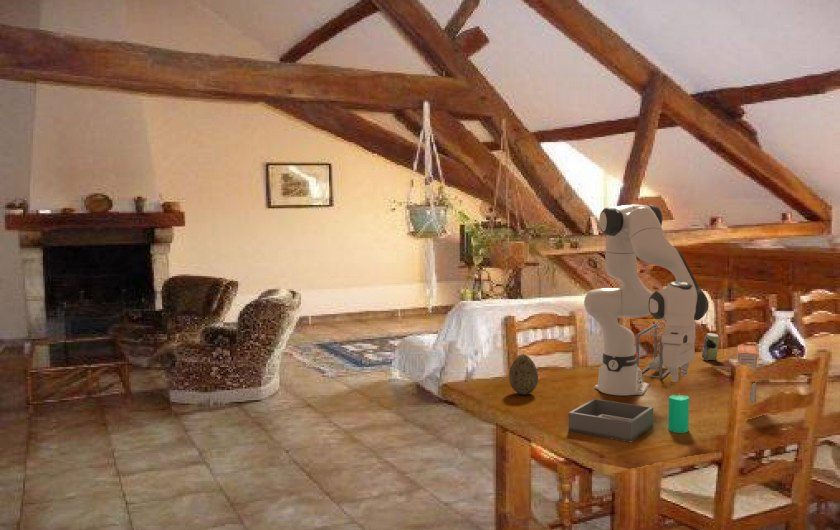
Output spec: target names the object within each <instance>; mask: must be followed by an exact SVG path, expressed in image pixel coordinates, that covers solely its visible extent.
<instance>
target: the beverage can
mask: <svg viewBox="0 0 840 530" xmlns="http://www.w3.org/2000/svg"><path fill="white" fill-rule="evenodd" d="M719 344H720V336H719V335H718V334H717V333H714V332H708V333H707V332H706V335H704V341H703V345H702V354H701V358H703V360H705V361H708V360H714V361H716V360H717V355H718V351H719Z"/></svg>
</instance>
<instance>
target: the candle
mask: <svg viewBox="0 0 840 530" xmlns="http://www.w3.org/2000/svg"><path fill="white" fill-rule="evenodd" d="M689 411H690V397H689V396H688V395H676V394H672V395H670V396H668V425H667V426H668V428H667V429H669V431H670V432H672V431H673V432H672V433H679V434H680V433H681V434H683V433H685V434H686V433H688V432H689V425H690V424H689V422H690V420H689V417H690V416H689V415H690V412H689Z"/></svg>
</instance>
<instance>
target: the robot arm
mask: <svg viewBox="0 0 840 530" xmlns="http://www.w3.org/2000/svg"><path fill="white" fill-rule="evenodd" d="M598 221H599V222H598V223H599V228H600V230H601V232H602V233H603V235H605V236H606V241H605V252H604V253H605V259H604V260H605V261H604V262H605V263H604V265H605V266H604V269H605V273H606V274H607V276H609V277H611V278H612V279H615V280H617V281H619V282H621V287H602V288H595V289H591V290H589V291H588V292H587V293H586V295H585V297H584V300H583V303H584V304H583V305H584V308H585V311H586V312H587V314H588V315H590V316H591V317H592V318H593V319H595V321H596V322H597V323H598V326H600V329H601V331H602V337H603V353H602V365H601V366H599V367H598V378H597V379H598V380H597V384H595V385H594V389H596V390H598V391H599V392H601V393H603V394H606V395H613V396H636V395H638V396H641V395H645V394H646V393H645V392H647V390H648V388H649V383H648V382H644V381H643V376H642V375H643V374H642V369H641V368H640V366H639V367H638V366H637V365H636V359H637V357H638V354H637V353H636V352H635V347H636V339H635V337H636V336H635V334H634V332H633V331H632V330H631V329H630V328H628V327H626V326H623V325H622V324H620V323H619V321H618V319H619V318H644V317H647V316H652V317H653V318H654V319H656V320H661V321H665V325H664V329H665V330H664V331H665V332H664V331H663V332H664V333H662V334H661V335H662V338H661V341H662V343H663V344H664V345H663V362H664V363H663V366H664V369H668V370H669V369H670V373H669V374H670V381H671V382H673V383H676V382H679V377H680V376H682V377H687V376H688V373H689V372H688V371H689V366H690V362H691V361H693V360H694V359H695V341H696V322H695V321H700V320H701V319H702V318H703V317H704V316H705V315H706V314H707V312H708V310H709V306H710V305H709V300H708V297H707V296H706V294H705V292H704V291H703V290H702V288H701V287H700V285H699V283H698V282H697V280H696V279H695V276H694V274H693V272H692V271H691V269H690V267H689V265H688V263H687V261H686V258H685V257H684V256H683V254H682V252H681V251H680V250H679V249H678V248H676V247H675V246H673V244H672V243H671V242H669V240H668V239H667V238H666V235H665V233H664V230H663V228H662V226H663V225H662V224H663V214H662V211H661V209H660V208H659V207H658V206H656V205H655V204H654V205H653V204H637V203H636V204H633V203H632V204H625V205H618V206H607V207H604V208H603V209H602V211H601V212H600V214H599V218H598ZM637 258H638V259H639V260H641V261H643V262H644V263H647V264H650V265H654V266H659V267H660V268H664V269H666V270H667V271H669V272H671V273H672V275H673V276H674V279H675V281H670V282H669V283H668V284H667V285H666V287H664V288H663V289H660V290H656V291H653V292H652V291H651V290H650V289H649V288H647V286H645V285H644V284H643V282H642V281H641V279H640V277H639V274H638V270H637V268H638V267H637ZM679 368H680V369H681V370H680V376H679V374H678V371H679Z"/></svg>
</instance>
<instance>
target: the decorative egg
mask: <svg viewBox="0 0 840 530" xmlns="http://www.w3.org/2000/svg"><path fill="white" fill-rule="evenodd" d="M508 382H509V385H510V387H511V388H512V390H513V391H515V393H517V394H519V395H524V396H525V395H529V394H531V393H533V391H534V390H535V389H536V388H537V385H538V383H539V373H538V369H537V367H536V364H535V363H534V361H533V360H532V358H531V357H530V356H528V355H527V354H525V353H524V354H519V355H518V356H517V357H515V359H514V360H513V361H512V363H511V366H510V369H509V372H508Z"/></svg>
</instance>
